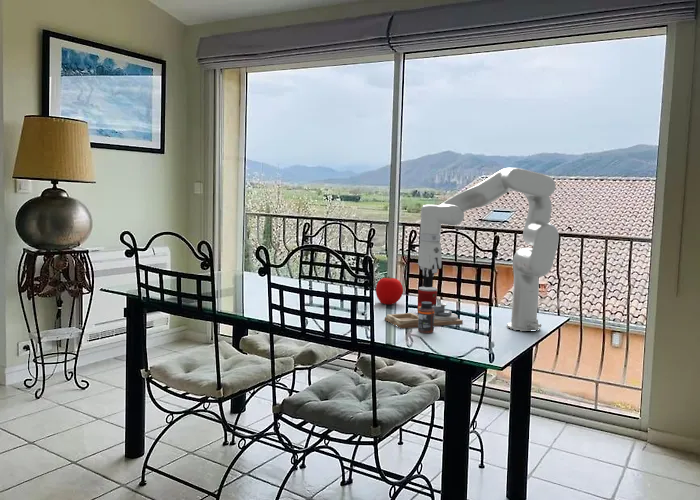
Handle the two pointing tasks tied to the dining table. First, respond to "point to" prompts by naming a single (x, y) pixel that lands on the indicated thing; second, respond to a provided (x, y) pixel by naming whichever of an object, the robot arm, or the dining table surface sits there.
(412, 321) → the board
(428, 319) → the supplement bottle
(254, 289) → the dining table surface
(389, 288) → the tomato
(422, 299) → the canned food
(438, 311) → the grey lever handle
